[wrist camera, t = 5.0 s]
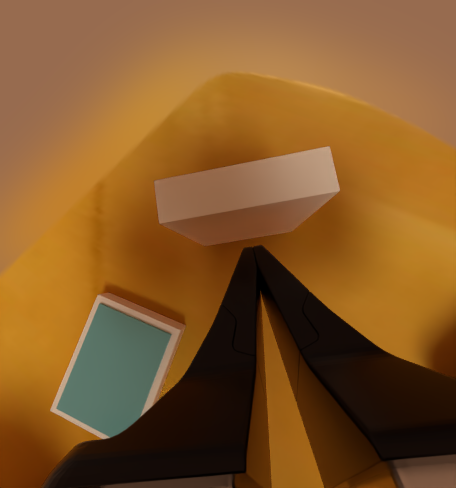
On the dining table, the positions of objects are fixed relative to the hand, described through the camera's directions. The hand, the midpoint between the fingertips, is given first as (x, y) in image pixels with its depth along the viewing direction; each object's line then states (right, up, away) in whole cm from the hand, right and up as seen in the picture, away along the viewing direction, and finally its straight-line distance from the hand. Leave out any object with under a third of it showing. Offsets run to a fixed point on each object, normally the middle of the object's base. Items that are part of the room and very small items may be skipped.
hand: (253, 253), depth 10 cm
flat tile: (-9, -9, +8) cm, 15 cm away
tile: (0, +2, +8) cm, 8 cm away
